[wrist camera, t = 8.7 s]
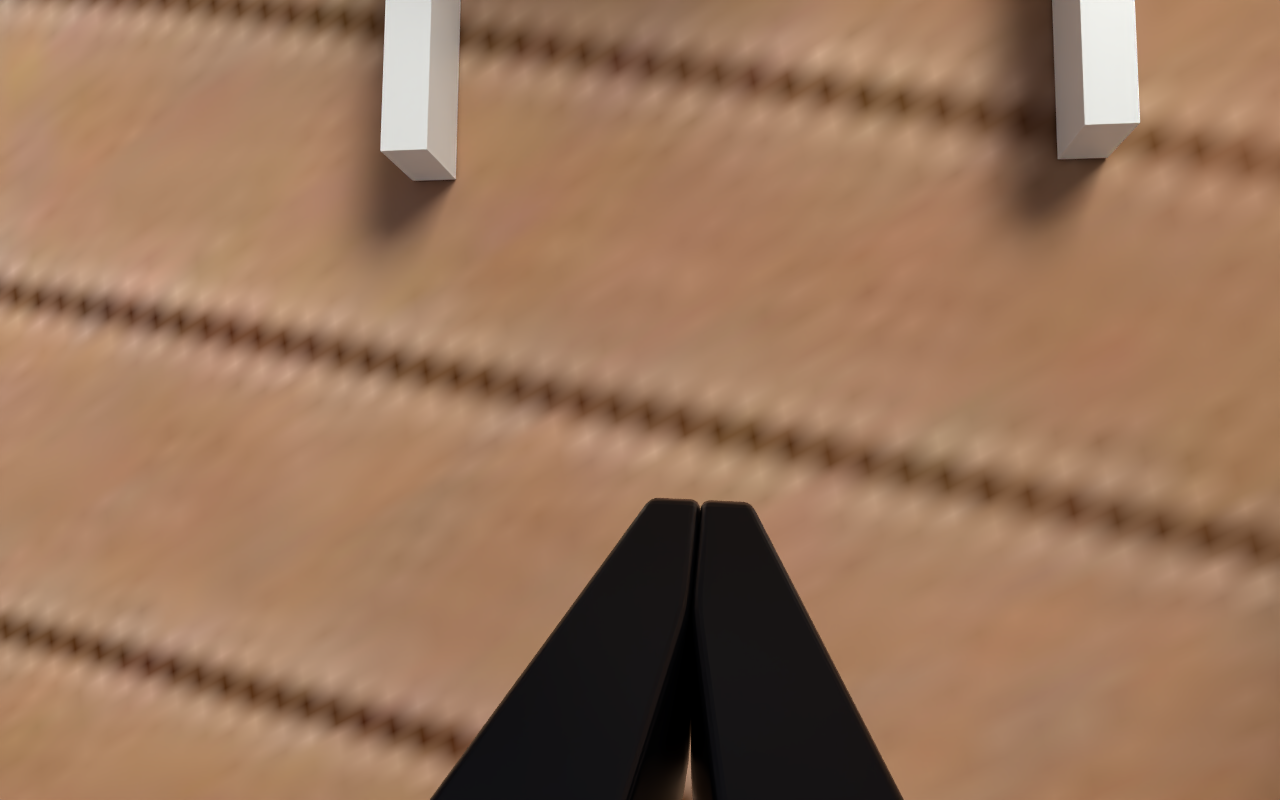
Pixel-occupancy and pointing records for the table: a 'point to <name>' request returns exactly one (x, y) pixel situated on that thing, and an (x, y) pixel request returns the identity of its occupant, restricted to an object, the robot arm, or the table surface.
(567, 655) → the robot arm
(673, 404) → the table surface
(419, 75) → the low angular wall frame
